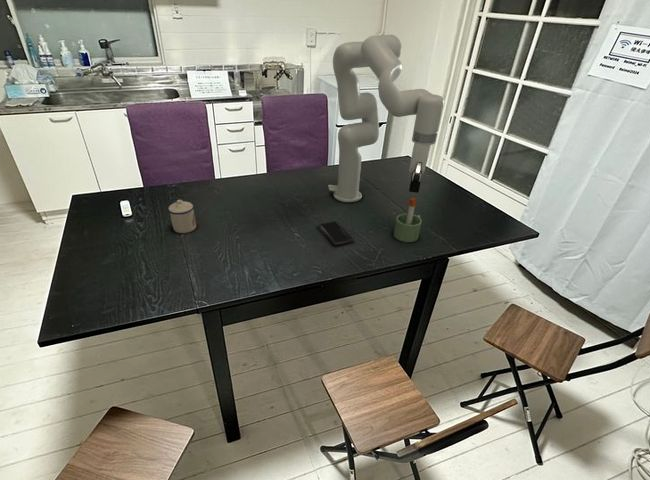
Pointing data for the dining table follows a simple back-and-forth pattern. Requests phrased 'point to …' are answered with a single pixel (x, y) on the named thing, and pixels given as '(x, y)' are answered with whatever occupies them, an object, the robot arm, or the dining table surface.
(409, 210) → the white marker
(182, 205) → the teacup with lid
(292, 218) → the dining table surface
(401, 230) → the mug
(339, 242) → the phone
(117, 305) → the dining table surface
